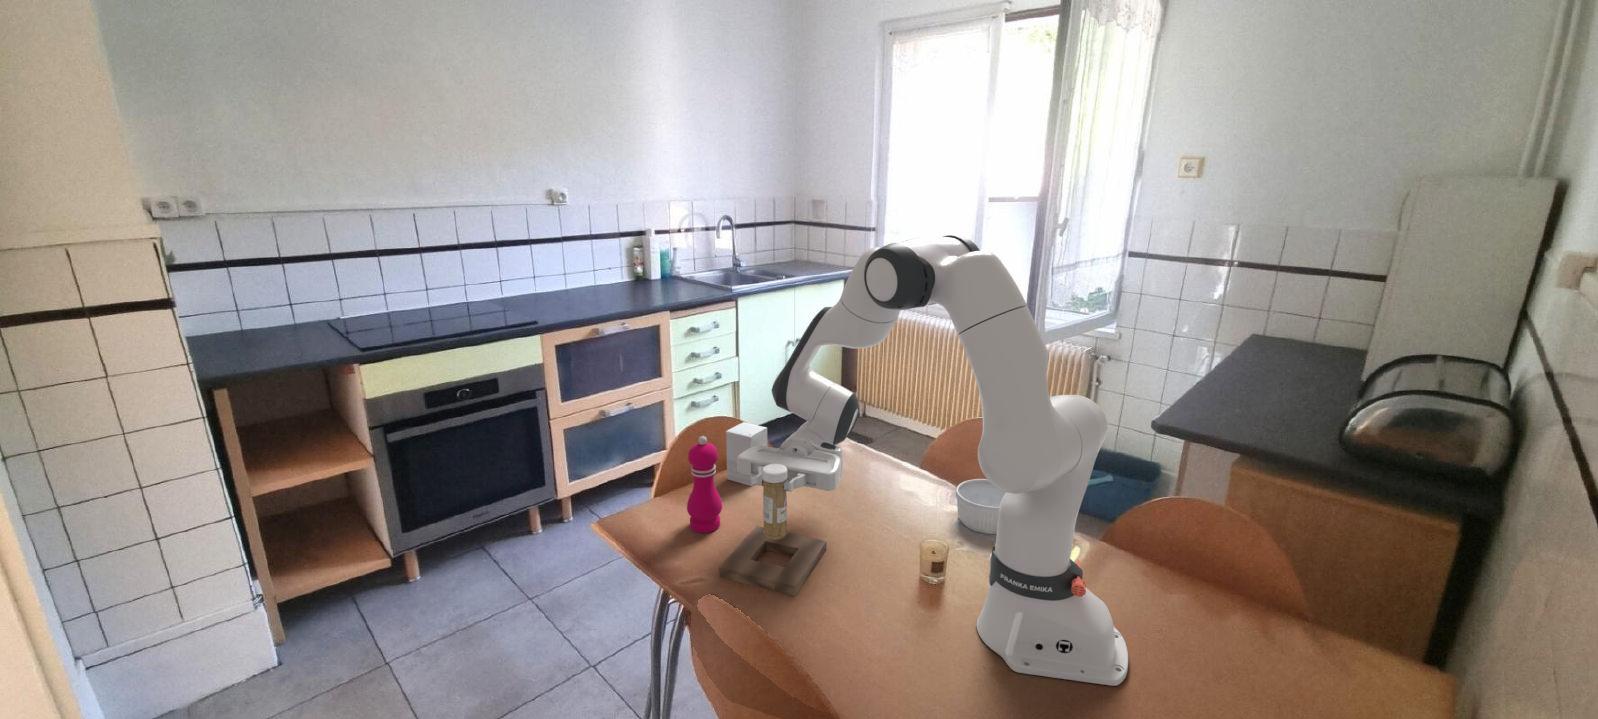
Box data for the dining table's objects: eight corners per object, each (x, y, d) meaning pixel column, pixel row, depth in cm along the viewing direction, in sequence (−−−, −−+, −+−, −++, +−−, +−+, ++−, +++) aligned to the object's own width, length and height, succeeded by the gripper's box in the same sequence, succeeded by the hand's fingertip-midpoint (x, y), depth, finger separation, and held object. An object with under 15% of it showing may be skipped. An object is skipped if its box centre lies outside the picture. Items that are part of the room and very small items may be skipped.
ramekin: (955, 534, 137) (958, 504, 135) (952, 504, 150) (954, 476, 148) (1022, 540, 135) (1025, 509, 133) (1013, 509, 148) (1016, 481, 146)
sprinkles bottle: (789, 539, 123) (789, 472, 119) (764, 541, 122) (764, 474, 118) (784, 526, 127) (784, 461, 124) (761, 528, 127) (760, 463, 123)
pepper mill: (716, 536, 135) (713, 445, 130) (682, 532, 137) (678, 441, 131) (727, 519, 142) (725, 431, 137) (694, 515, 143) (691, 428, 138)
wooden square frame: (826, 550, 131) (826, 541, 130) (795, 596, 116) (795, 586, 116) (757, 534, 136) (757, 525, 136) (719, 576, 122) (719, 567, 121)
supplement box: (768, 475, 163) (768, 427, 159) (750, 487, 157) (750, 437, 153) (744, 468, 166) (743, 421, 163) (725, 479, 160) (724, 430, 157)
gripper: (754, 433, 136) (721, 459, 124) (849, 449, 129) (825, 478, 117) (754, 461, 138) (722, 490, 126) (848, 478, 131) (824, 511, 118)
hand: (772, 484), depth 121 cm, fingers closed on sprinkles bottle, 4 cm apart
